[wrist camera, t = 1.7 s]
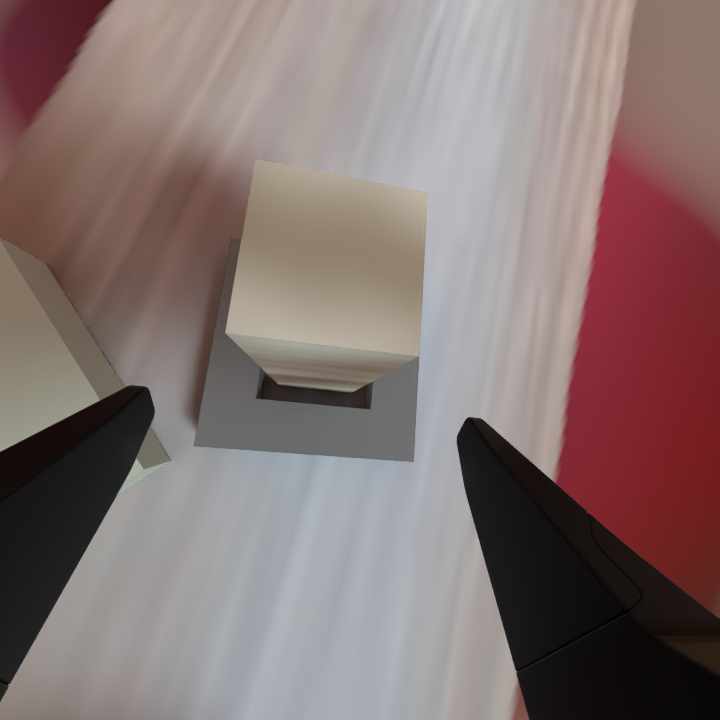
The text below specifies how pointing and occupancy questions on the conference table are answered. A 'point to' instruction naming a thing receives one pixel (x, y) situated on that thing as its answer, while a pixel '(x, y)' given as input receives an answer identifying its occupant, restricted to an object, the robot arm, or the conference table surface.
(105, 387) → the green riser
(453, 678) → the conference table surface
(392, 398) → the pocket holder
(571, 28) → the conference table surface
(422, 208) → the cream block
